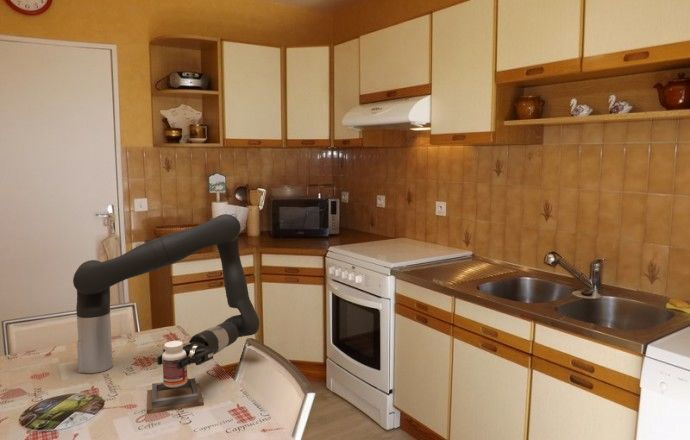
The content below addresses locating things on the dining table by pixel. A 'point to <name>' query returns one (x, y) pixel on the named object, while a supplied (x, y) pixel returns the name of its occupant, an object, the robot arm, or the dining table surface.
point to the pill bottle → (173, 364)
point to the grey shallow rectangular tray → (174, 396)
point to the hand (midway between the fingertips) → (168, 363)
